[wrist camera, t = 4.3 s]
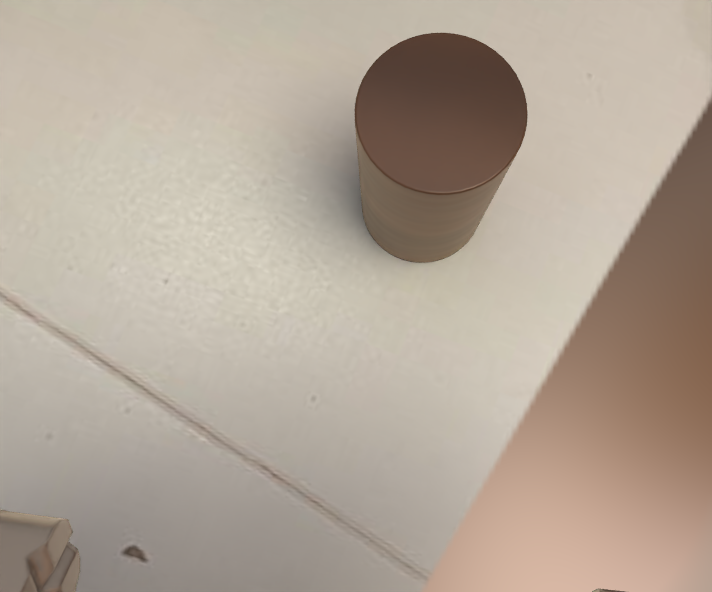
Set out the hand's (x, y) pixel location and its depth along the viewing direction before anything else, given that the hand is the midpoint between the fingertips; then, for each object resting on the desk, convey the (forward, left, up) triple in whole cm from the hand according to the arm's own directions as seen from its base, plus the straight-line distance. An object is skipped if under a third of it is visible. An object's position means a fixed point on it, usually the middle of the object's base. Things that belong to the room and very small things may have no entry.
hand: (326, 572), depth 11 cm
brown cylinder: (+10, -1, -13) cm, 17 cm away
